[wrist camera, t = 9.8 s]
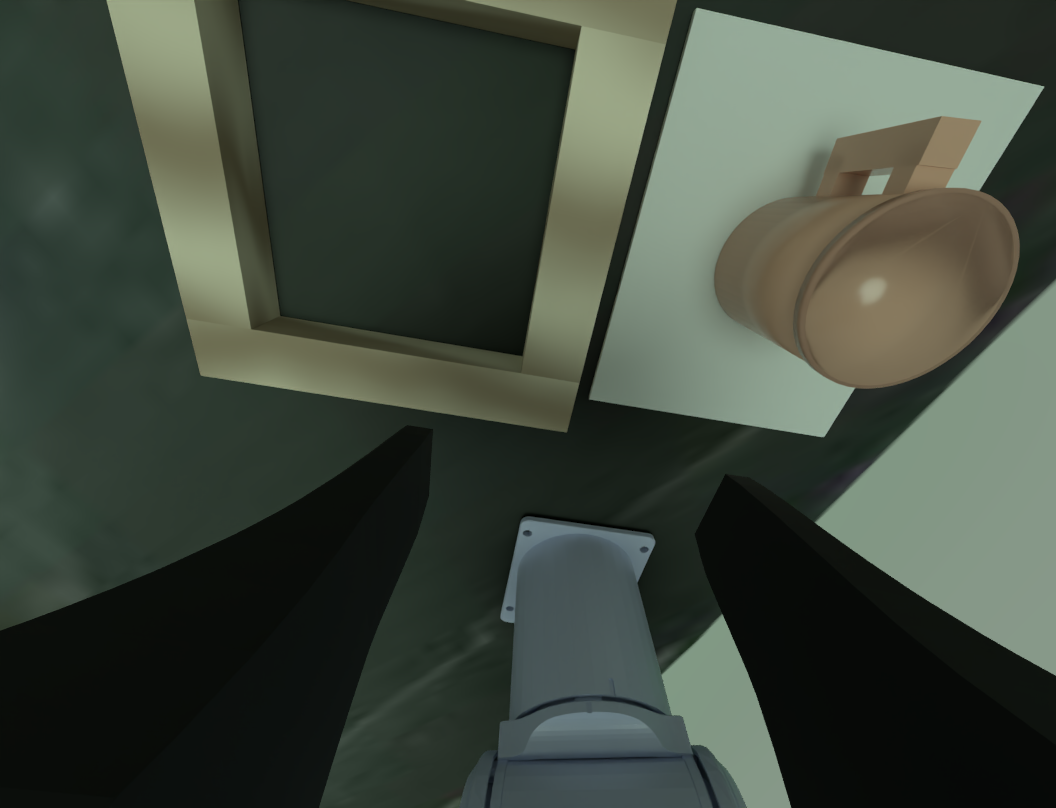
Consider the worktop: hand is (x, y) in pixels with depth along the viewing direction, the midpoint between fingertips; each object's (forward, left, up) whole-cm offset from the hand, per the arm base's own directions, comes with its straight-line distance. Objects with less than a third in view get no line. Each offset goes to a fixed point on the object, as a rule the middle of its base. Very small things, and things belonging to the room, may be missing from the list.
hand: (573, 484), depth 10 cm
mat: (+5, -8, -9) cm, 13 cm away
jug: (+5, -8, -9) cm, 13 cm away
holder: (+5, +7, -9) cm, 13 cm away
